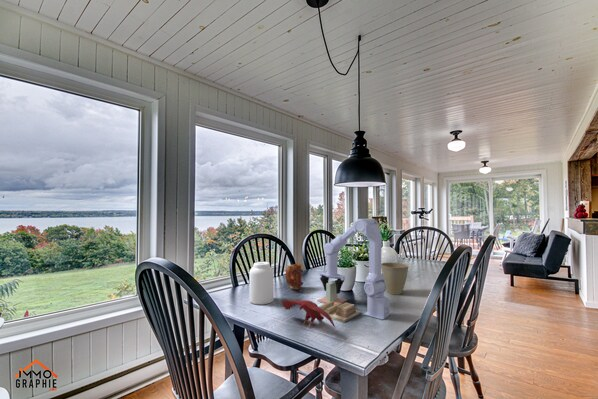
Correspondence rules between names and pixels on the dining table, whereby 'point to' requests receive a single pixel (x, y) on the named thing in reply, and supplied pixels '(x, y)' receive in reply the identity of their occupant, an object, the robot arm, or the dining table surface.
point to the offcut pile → (345, 310)
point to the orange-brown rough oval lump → (294, 276)
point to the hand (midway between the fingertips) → (332, 291)
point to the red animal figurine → (308, 310)
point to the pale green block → (331, 291)
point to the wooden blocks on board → (332, 309)
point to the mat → (339, 300)
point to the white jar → (261, 283)
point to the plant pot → (394, 276)
